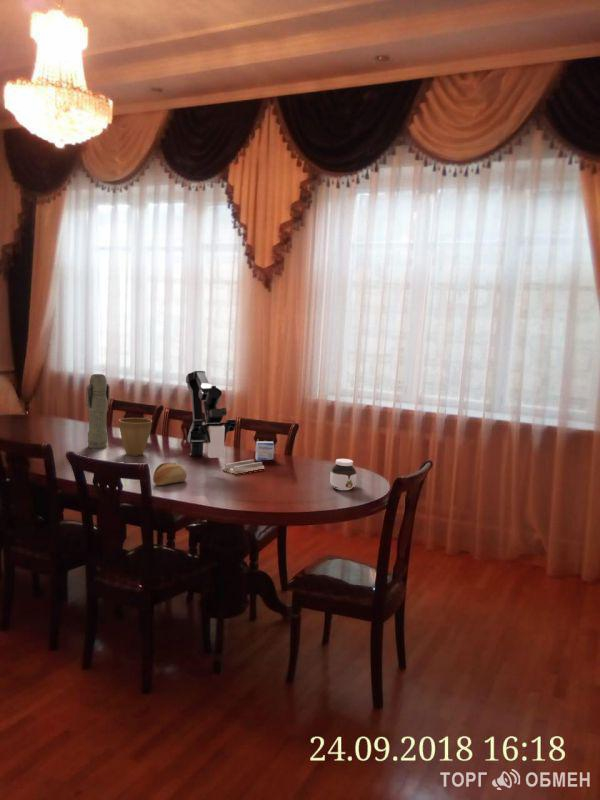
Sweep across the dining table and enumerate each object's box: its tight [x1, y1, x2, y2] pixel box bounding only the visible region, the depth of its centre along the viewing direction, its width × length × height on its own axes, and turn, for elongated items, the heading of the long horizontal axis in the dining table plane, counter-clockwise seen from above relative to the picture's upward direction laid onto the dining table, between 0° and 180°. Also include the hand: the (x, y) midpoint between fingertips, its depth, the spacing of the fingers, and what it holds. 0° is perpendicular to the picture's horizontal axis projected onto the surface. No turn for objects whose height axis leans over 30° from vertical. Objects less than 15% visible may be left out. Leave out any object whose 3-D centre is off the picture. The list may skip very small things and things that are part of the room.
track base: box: [222, 459, 265, 475], centre depth 272 cm, size 9×16×3 cm, turn 136°
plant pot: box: [118, 417, 153, 457], centre depth 290 cm, size 15×15×16 cm
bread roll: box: [152, 462, 188, 486], centre depth 246 cm, size 10×15×8 cm, turn 143°
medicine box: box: [254, 440, 275, 462], centre depth 293 cm, size 8×4×9 cm, turn 105°
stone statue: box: [85, 373, 111, 450], centre depth 299 cm, size 9×12×35 cm
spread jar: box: [329, 458, 357, 488], centre depth 253 cm, size 12×11×12 cm
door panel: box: [207, 426, 225, 459], centre depth 264 cm, size 3×6×13 cm, turn 113°
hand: (217, 442), depth 263 cm, fingers closed on door panel, 6 cm apart
